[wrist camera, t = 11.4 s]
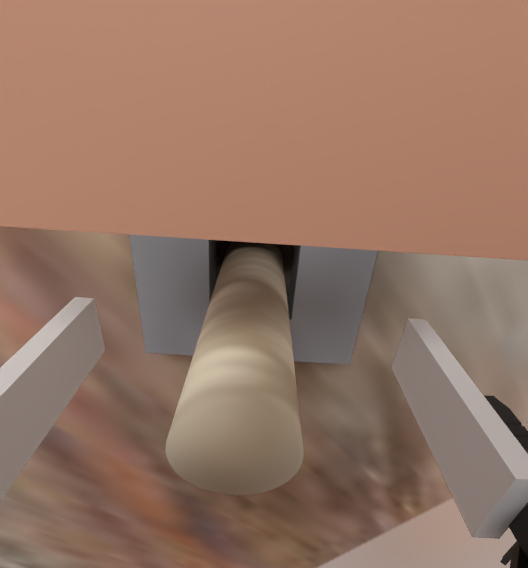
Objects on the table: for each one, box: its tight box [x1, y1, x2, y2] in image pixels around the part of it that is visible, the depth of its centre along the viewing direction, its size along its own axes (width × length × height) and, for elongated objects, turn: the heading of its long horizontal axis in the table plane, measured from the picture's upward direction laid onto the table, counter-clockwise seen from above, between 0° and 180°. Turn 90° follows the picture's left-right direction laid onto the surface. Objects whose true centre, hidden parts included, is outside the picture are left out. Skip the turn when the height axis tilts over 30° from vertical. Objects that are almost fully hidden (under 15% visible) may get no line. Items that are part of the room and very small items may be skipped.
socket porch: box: [0, 0, 528, 365], centre depth 14 cm, size 18×14×14 cm
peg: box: [165, 241, 304, 495], centre depth 15 cm, size 4×4×14 cm
